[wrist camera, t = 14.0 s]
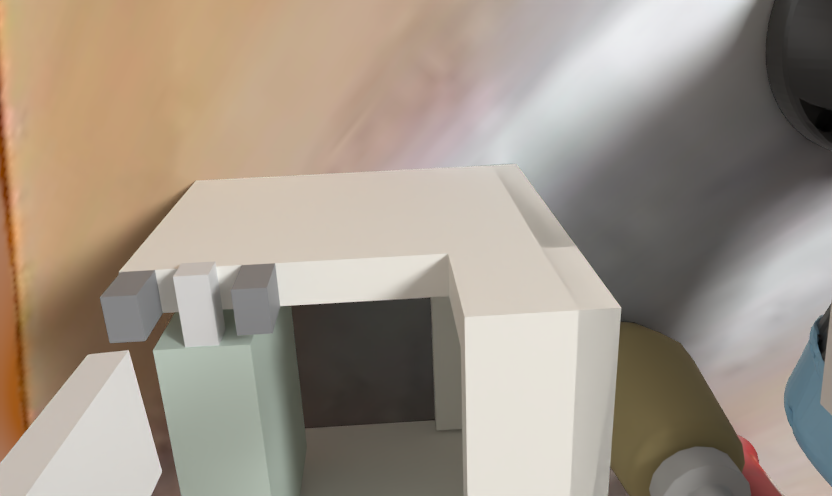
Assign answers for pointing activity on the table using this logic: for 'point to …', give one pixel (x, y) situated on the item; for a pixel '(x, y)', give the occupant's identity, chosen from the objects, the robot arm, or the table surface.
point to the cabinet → (450, 316)
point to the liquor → (757, 473)
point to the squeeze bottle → (670, 423)
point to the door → (229, 396)
